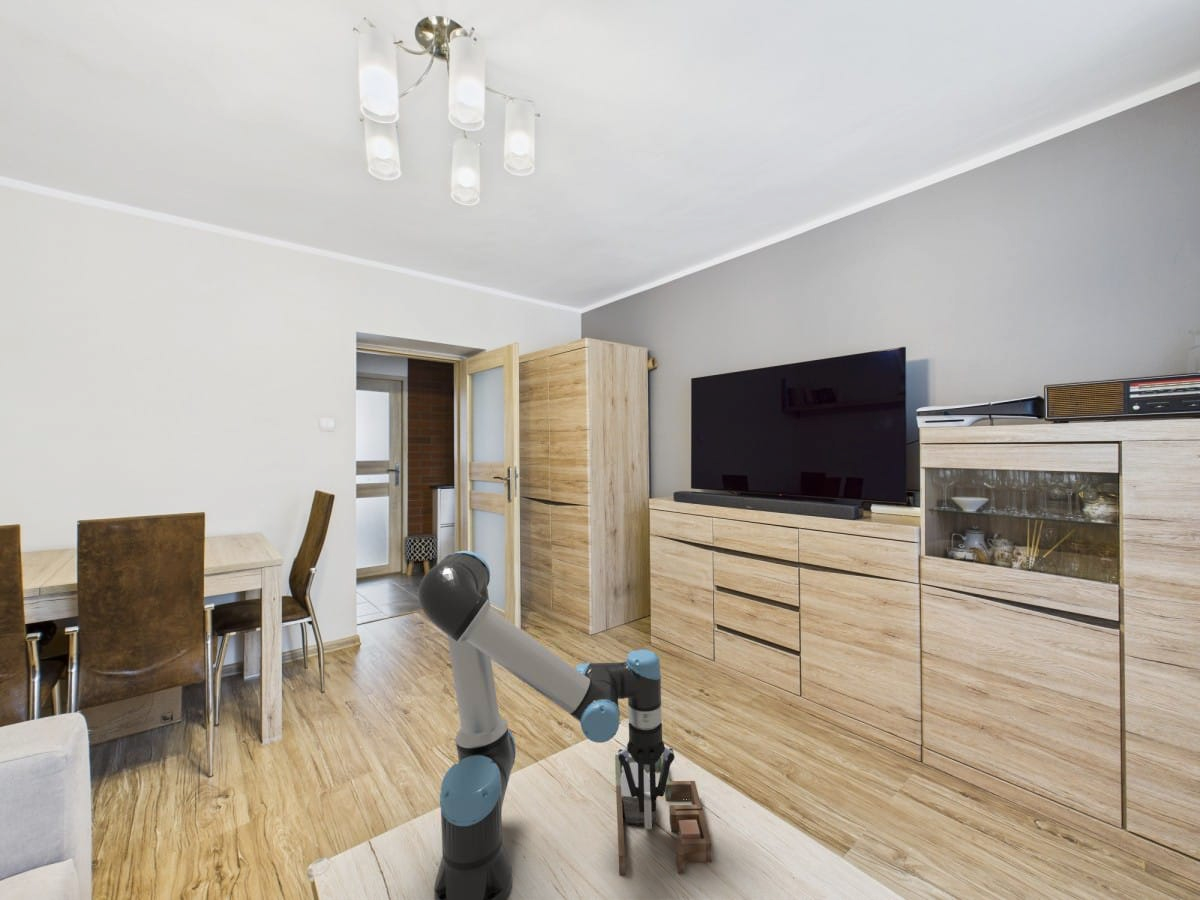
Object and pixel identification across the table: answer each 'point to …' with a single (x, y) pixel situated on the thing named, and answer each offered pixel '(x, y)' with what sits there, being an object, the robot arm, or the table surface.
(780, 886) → the table surface
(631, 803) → the decorative stone
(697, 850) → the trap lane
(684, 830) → the cube
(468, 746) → the robot arm
